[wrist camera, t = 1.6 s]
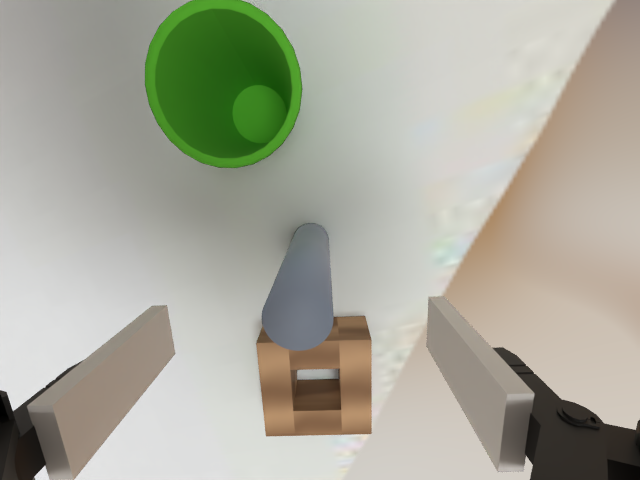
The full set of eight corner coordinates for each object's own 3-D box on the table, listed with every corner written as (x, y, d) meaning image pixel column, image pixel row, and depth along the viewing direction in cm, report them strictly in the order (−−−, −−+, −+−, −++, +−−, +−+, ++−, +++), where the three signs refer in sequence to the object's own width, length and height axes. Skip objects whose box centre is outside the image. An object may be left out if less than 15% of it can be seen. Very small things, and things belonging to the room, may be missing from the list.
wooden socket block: (265, 319, 33) (256, 343, 29) (365, 316, 33) (371, 339, 28) (273, 402, 36) (266, 436, 31) (365, 400, 35) (371, 433, 31)
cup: (221, 171, 29) (162, 175, 19) (203, 66, 27) (125, 3, 16) (314, 161, 29) (309, 160, 18) (304, 55, 27) (291, -17, 16)
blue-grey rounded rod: (292, 223, 30) (258, 286, 15) (328, 222, 30) (332, 284, 15) (294, 258, 31) (265, 351, 16) (329, 257, 31) (334, 349, 16)
